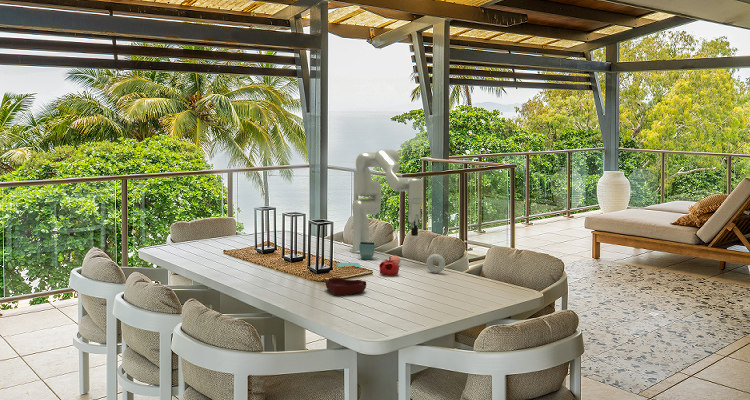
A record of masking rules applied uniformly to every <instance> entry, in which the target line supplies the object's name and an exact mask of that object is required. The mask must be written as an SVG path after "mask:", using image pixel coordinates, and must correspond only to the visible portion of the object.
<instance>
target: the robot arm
mask: <svg viewBox="0 0 750 400" xmlns="http://www.w3.org/2000/svg"><path fill="white" fill-rule="evenodd" d="M399 155H400V154H399V153H398V152H397V151H396V150H394V149H379V150H377V151H376V152H372V151H369V152H368V151H367V152H362V153H359V154H358V155H357V156H356V159H355V170H356V177H355V178H356V180H355V193H356V195H357V196H358V197H369V198H358V199H355V200H354V201H353V202H352V204H351V206H352V209H351V210H352V217H353V218H352V219H353V222H352V223H353V226H352V247H351V248H350V249H349V251H350V252H351V253H354V254H360V249H359V244H360V242H370V241H369V240H370V220H369V218H368V216H370V215H376V214H378V213H379V212H380V210H381V204H382V203H381V202H382V185H381V183H380V182H379V181H378V180H372V173H371V170H370V168H382V170H383V172H385V182H386V183H387V185H388V186H389V187H390V189H392V190H393V191H395V192H408V194H407V195H408V197H407V199H408V200H407V205H408V215H407V217H408V218H407V222H409V223H411V229H410V231H411V234H410V236H412V237H417V236H419V235H418V233H419V223H420V222H421V205H423V180H422V179H421V178H415V177H398V176H397V175H396V174H397V173H398V171H399V170H400V164H399V163H398V162H399V160H400V156H399Z"/></svg>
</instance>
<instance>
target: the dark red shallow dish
mask: <svg viewBox="0 0 750 400" xmlns="http://www.w3.org/2000/svg"><path fill="white" fill-rule="evenodd" d="M325 287H326V289H327V290H328V291H330V293H331V294H332V295H333V296H336V297H341V296H342V297H343V296H347V295H353V294H361V293H363V292H364V291H365V290H366V288H367V281H366V280H362V279H346V278H343V277H330V278H329V279H326V280H325Z"/></svg>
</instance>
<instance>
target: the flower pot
mask: <svg viewBox="0 0 750 400" xmlns="http://www.w3.org/2000/svg"><path fill="white" fill-rule="evenodd" d="M359 249H360V253H359V255H360V258H361V260H367V261H368V260H369V261H370V260H372V258H374V254H375V249H376V241H375V242H373V241H372V242H371V241H369V242H360V244H359Z"/></svg>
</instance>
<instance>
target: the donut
mask: <svg viewBox="0 0 750 400" xmlns="http://www.w3.org/2000/svg"><path fill="white" fill-rule="evenodd" d="M435 261H436V262H437V263H438V265H437V266H436V265H435V266H434V262H435ZM425 264H426V267H427V269H428V271H429V272H431V273H433V274H439V273H441V272H442V271H444V269H445V268H446V260H445V258H444V257H443V256H442V255H441V254H438V253H433V254H430V255H429V256H428V257H427V259H426V261H425Z"/></svg>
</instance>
